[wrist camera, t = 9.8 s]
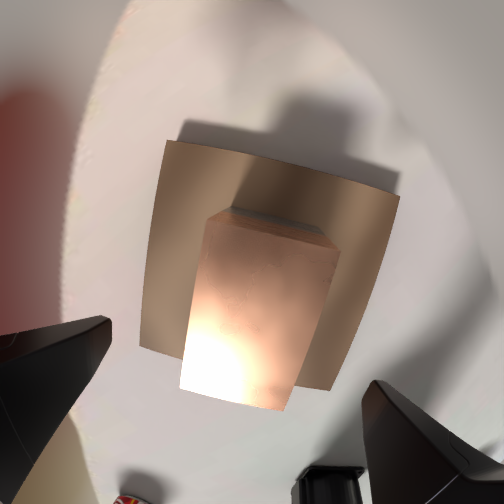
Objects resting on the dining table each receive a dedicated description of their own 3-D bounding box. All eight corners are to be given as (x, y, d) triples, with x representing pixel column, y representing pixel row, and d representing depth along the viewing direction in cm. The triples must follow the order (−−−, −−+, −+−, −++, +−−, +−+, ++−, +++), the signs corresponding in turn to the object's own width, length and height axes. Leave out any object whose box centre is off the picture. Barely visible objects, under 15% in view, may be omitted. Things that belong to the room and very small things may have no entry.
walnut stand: (390, 195, 17) (400, 196, 15) (327, 378, 20) (329, 390, 19) (175, 142, 17) (167, 139, 16) (147, 336, 21) (139, 346, 19)
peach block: (282, 347, 18) (283, 411, 12) (206, 329, 18) (179, 387, 12) (317, 226, 16) (340, 251, 10) (231, 205, 16) (206, 219, 10)
